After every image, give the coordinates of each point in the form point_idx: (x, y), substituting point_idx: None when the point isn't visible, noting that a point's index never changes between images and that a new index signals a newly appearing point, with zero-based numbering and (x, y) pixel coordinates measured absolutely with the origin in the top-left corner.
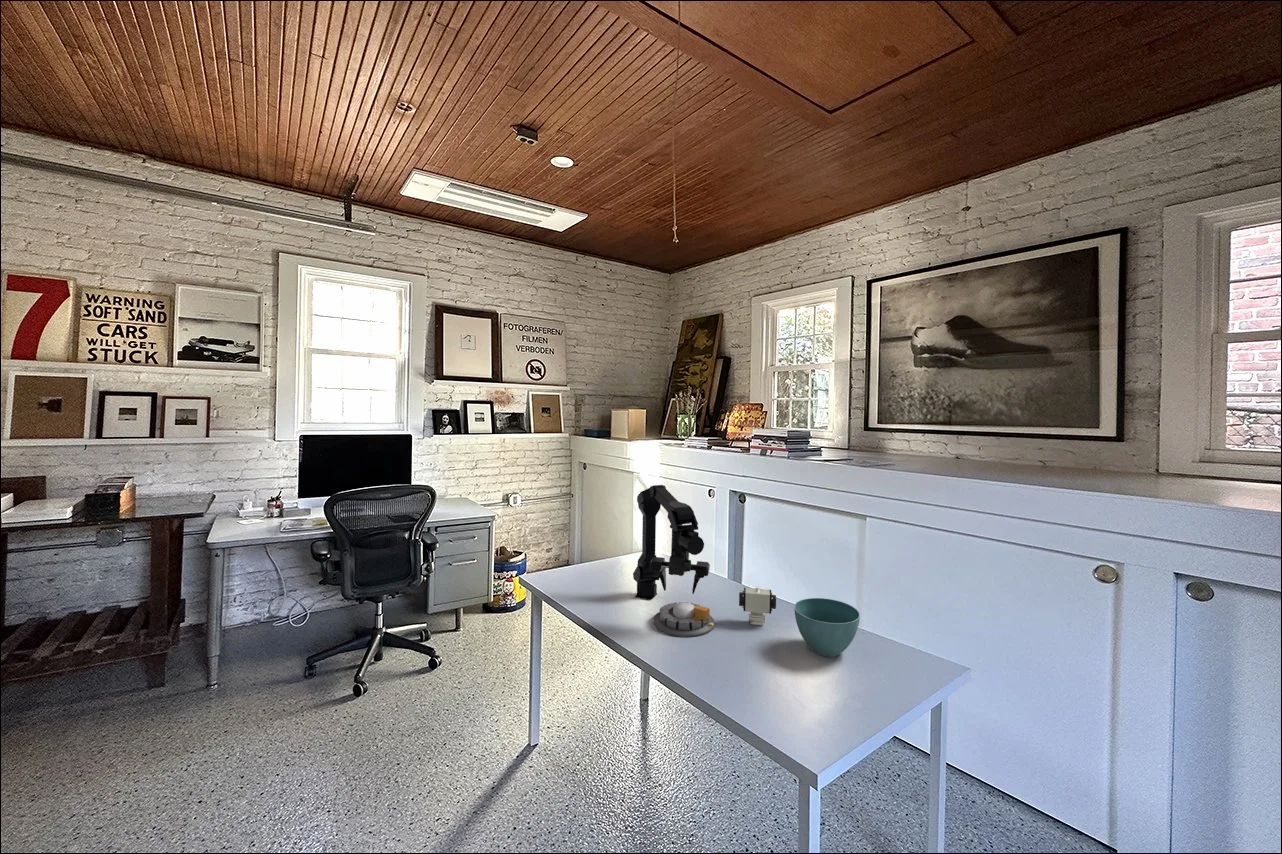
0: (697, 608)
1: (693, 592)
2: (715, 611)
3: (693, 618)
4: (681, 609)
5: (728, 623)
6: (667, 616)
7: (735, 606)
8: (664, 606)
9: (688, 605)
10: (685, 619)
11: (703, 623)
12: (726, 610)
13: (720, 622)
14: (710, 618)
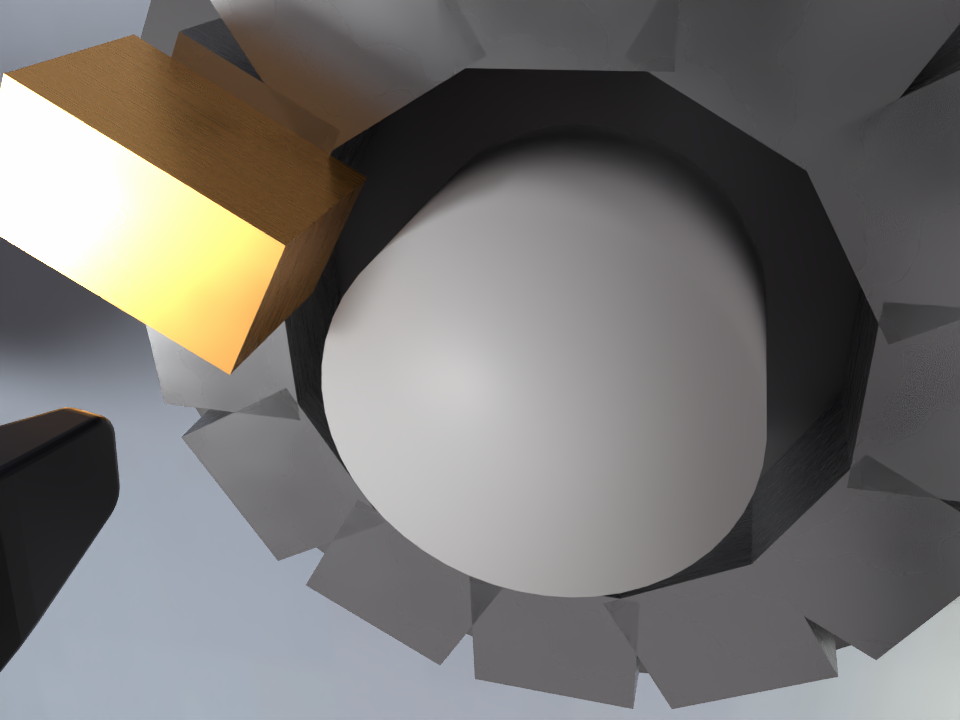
0: (201, 203)
1: (34, 427)
2: (203, 576)
3: (362, 94)
4: (584, 300)
5: (9, 279)
6: (932, 163)
7: (35, 653)
8: (914, 603)
9: (441, 474)
10: (522, 29)
11: (211, 29)
12: (98, 586)
13: (101, 306)
14: None
